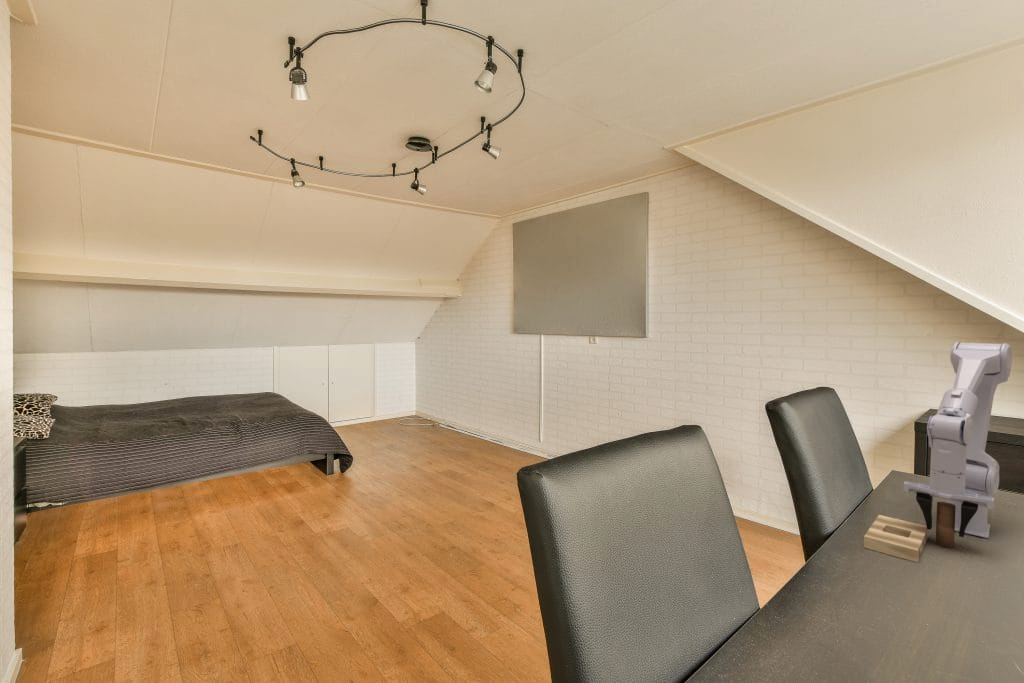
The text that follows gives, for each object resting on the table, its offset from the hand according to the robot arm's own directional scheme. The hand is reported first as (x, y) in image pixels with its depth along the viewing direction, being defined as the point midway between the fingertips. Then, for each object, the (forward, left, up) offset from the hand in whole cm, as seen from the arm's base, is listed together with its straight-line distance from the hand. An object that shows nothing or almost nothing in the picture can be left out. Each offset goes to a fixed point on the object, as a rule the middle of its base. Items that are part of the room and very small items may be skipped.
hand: (945, 531), depth 106 cm
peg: (0, 0, -3) cm, 3 cm away
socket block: (+6, -8, -3) cm, 10 cm away
